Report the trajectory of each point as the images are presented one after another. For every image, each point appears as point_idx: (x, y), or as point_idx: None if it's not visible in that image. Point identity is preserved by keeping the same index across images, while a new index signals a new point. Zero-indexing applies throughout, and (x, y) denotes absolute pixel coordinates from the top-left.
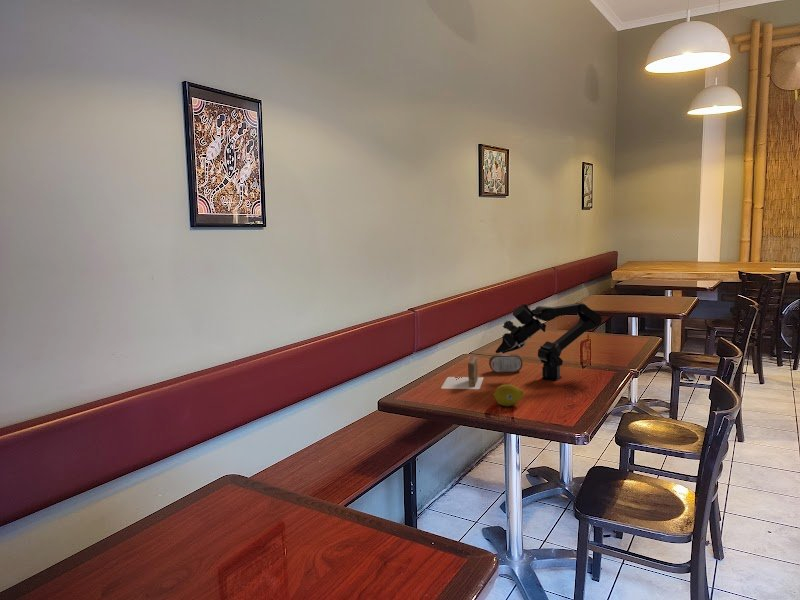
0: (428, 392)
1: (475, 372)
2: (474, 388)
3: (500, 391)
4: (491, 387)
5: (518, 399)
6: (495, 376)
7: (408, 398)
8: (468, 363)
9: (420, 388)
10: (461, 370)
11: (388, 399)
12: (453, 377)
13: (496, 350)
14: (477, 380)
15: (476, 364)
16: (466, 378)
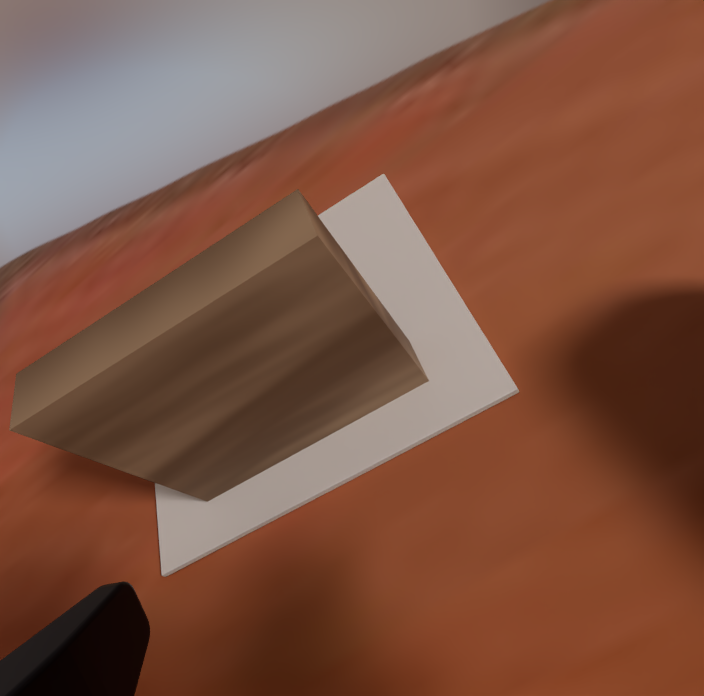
0: (89, 322)
1: (222, 418)
2: (170, 526)
3: None
4: (250, 653)
5: None
6: (671, 463)
7: (10, 319)
8: (17, 379)
9: (145, 243)
10: (639, 82)
11: (4, 270)
12: (385, 208)
13: (68, 620)
14: (387, 405)
15: (283, 333)
16: (404, 292)
